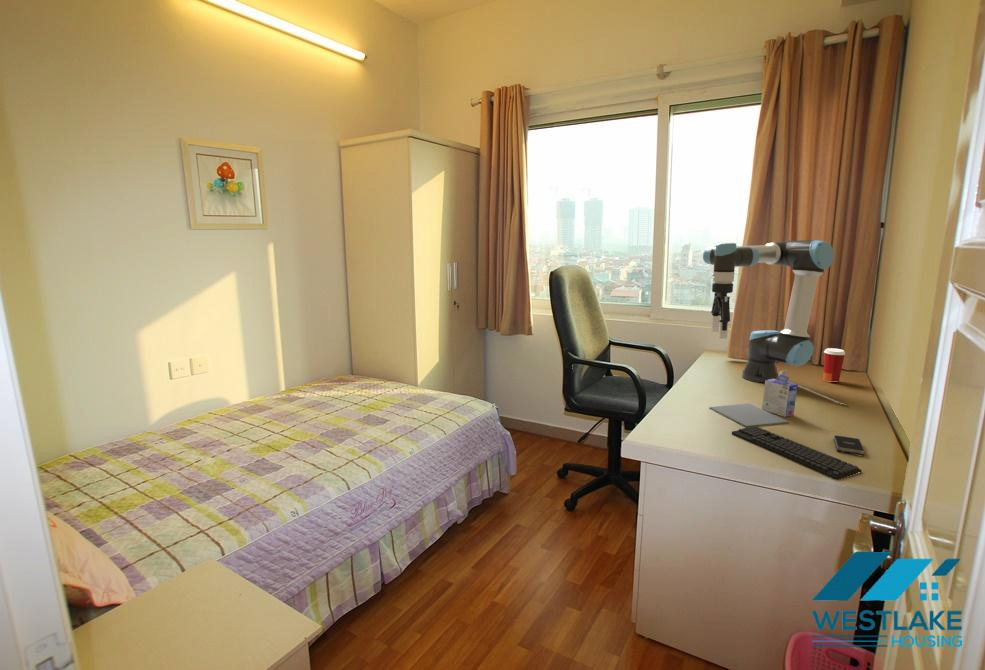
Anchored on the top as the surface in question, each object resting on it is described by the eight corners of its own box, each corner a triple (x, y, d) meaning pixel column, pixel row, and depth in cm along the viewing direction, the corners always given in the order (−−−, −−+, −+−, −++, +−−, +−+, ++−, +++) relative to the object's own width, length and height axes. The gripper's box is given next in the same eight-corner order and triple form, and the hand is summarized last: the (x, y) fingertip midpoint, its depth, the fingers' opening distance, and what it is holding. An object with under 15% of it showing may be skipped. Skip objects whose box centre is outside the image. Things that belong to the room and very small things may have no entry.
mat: (748, 404, 197) (748, 403, 196) (788, 422, 177) (789, 421, 177) (709, 408, 193) (709, 407, 192) (746, 427, 173) (746, 425, 173)
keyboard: (730, 435, 168) (731, 429, 168) (754, 430, 173) (754, 424, 172) (836, 482, 136) (837, 475, 136) (861, 474, 141) (863, 467, 140)
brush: (841, 420, 193) (848, 399, 190) (775, 390, 215) (779, 371, 212) (846, 417, 195) (853, 396, 191) (780, 388, 217) (784, 369, 213)
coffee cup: (841, 380, 228) (845, 349, 225) (842, 385, 221) (846, 352, 218) (819, 377, 232) (823, 347, 229) (819, 382, 226) (824, 350, 223)
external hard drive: (836, 453, 154) (837, 447, 153) (832, 440, 163) (833, 434, 163) (864, 457, 150) (865, 451, 150) (858, 444, 160) (859, 438, 160)
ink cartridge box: (794, 415, 185) (799, 378, 182) (785, 417, 182) (790, 380, 180) (769, 407, 194) (773, 372, 191) (761, 409, 191) (764, 373, 188)
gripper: (706, 279, 207) (702, 328, 211) (720, 285, 183) (715, 341, 187) (725, 279, 205) (721, 329, 210) (742, 285, 181) (737, 341, 186)
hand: (718, 334), depth 198 cm, fingers open, 13 cm apart
